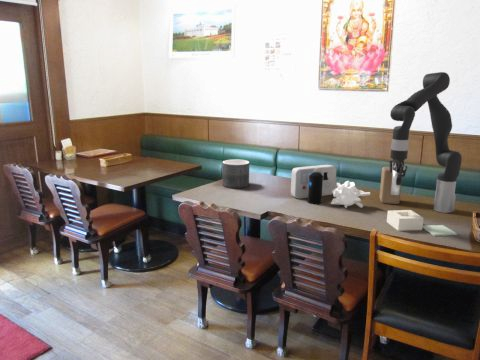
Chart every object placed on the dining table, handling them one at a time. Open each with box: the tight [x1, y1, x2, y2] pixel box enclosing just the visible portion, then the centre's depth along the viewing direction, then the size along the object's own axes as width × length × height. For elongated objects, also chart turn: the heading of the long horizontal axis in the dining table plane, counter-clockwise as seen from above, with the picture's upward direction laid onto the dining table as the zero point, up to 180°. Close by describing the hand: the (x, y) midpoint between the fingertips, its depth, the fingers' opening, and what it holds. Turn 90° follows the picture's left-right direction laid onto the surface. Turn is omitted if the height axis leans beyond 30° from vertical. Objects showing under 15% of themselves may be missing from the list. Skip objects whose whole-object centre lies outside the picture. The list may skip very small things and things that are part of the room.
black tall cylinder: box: [307, 168, 323, 205], centre depth 231 cm, size 8×8×20 cm
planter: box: [221, 158, 250, 189], centre depth 267 cm, size 18×18×16 cm
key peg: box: [391, 166, 401, 196], centre depth 194 cm, size 4×4×14 cm
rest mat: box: [422, 224, 458, 237], centre depth 190 cm, size 11×11×1 cm
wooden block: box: [378, 166, 403, 205], centre depth 233 cm, size 10×10×20 cm
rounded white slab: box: [290, 164, 337, 199], centre depth 244 cm, size 29×8×18 cm, turn 113°
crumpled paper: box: [330, 180, 371, 209], centre depth 224 cm, size 20×17×15 cm
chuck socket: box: [386, 209, 424, 232], centre depth 196 cm, size 12×12×6 cm
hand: (396, 183), depth 195 cm, fingers closed on key peg, 4 cm apart
